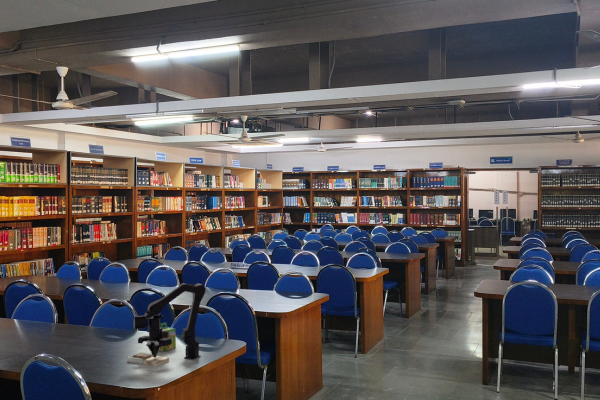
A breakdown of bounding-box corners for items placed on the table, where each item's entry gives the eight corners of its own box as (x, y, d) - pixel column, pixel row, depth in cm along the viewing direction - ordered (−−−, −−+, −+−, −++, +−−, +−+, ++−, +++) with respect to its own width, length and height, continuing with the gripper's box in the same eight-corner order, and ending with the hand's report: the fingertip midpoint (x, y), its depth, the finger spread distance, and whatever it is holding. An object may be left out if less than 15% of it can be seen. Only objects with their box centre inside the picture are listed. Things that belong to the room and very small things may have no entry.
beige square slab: (169, 361, 274) (169, 357, 274) (157, 366, 266) (157, 362, 266) (155, 359, 278) (155, 355, 278) (143, 364, 270) (143, 360, 270)
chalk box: (164, 352, 293) (164, 325, 293) (153, 350, 298) (152, 323, 298) (176, 348, 301) (176, 322, 301) (164, 346, 306) (164, 320, 306)
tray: (155, 359, 279) (155, 354, 279) (142, 364, 270) (142, 359, 270) (140, 356, 284) (140, 352, 284) (127, 361, 275) (127, 357, 275)
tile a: (150, 359, 277) (150, 354, 277) (144, 361, 273) (144, 356, 273) (144, 358, 278) (144, 353, 278) (139, 360, 275) (139, 355, 275)
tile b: (144, 358, 279) (144, 353, 279) (139, 360, 275) (139, 355, 275) (138, 357, 280) (138, 353, 280) (133, 359, 277) (133, 355, 277)
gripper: (178, 325, 276) (179, 355, 276) (151, 322, 285) (152, 351, 284) (164, 330, 266) (164, 360, 266) (136, 327, 275) (137, 357, 275)
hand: (155, 357), depth 273 cm, fingers closed
